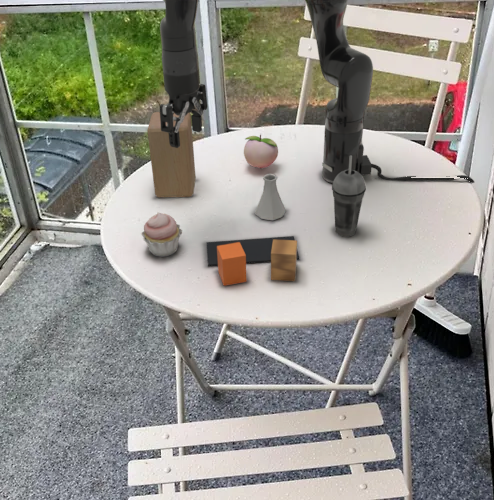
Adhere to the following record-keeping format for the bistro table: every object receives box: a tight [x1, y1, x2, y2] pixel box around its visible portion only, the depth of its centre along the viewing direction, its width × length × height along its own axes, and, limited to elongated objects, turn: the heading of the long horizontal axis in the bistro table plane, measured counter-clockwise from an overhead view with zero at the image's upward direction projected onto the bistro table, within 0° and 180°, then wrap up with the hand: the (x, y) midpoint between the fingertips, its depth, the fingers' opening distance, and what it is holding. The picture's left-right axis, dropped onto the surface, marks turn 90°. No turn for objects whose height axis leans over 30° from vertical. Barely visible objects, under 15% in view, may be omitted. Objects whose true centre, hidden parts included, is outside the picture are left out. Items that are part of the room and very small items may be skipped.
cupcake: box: [140, 211, 183, 258], centre depth 148 cm, size 9×9×10 cm
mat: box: [206, 235, 301, 267], centre depth 147 cm, size 20×8×1 cm, turn 90°
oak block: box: [270, 239, 298, 282], centre depth 138 cm, size 5×5×7 cm
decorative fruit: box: [243, 134, 279, 169], centre depth 174 cm, size 9×8×10 cm
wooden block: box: [146, 111, 197, 198], centre depth 167 cm, size 10×10×20 cm
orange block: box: [217, 242, 248, 287], centre depth 138 cm, size 5×5×7 cm
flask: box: [254, 173, 287, 221], centre depth 156 cm, size 7×7×10 cm
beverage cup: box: [331, 155, 367, 238], centre depth 145 cm, size 7×7×20 cm
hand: (186, 138), depth 145 cm, fingers open, 8 cm apart
